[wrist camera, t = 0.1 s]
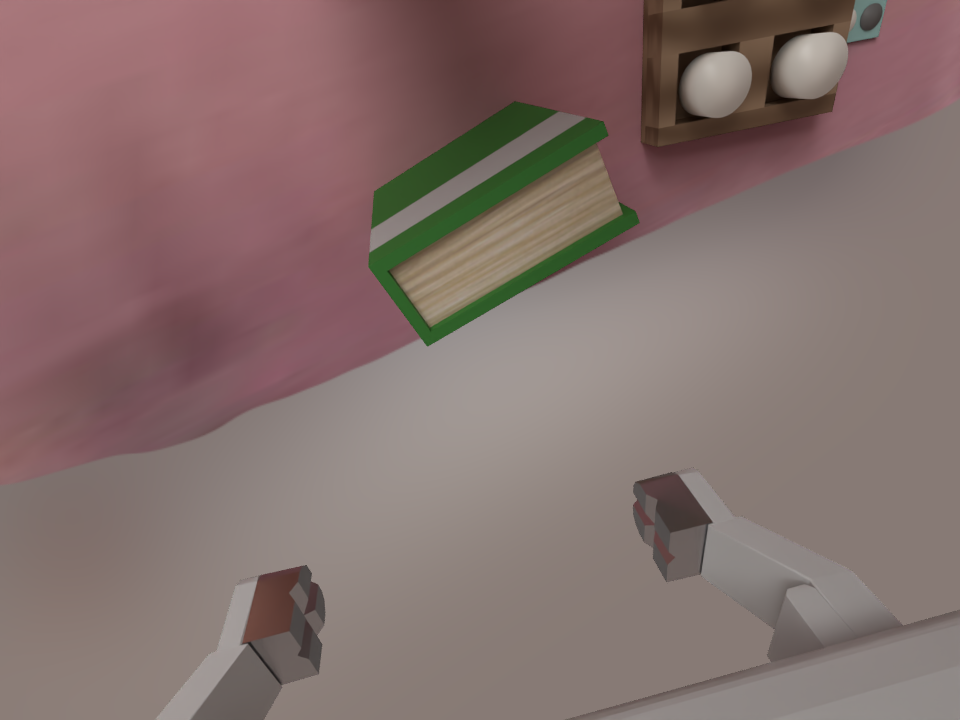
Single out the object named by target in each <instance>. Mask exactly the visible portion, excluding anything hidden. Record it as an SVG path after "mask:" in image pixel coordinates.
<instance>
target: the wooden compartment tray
mask: <svg viewBox="0 0 960 720" xmlns="http://www.w3.org/2000/svg"><path fill="white" fill-rule="evenodd" d="M854 5H855V0H644V18H643V67H642V116H641V142H642V143H645V144H649V145H653V146H656V147H660V146H665V145H670V144H675V143H680V142H685V141H690V140H695V139H700V138H704V137H709V136H714V135H719V134H724V133H729V132H734V131H739V130H744V129H749V128H754V127H759V126H764V125H768V124H773V123H778V122H783V121H788V120H793V119H798V118H803V117H808V116H813V115H818V114H823V113H828V112H832V110H833V105H834V100H835V96H836V91H837V86H838V83H837V84H836V85H835V86H834V87H833V88H832V89H831V90H830V91H829V92H828V93H826V94H825V95H823V96H821V97H819V98H816V99H798V98H784V97H780V96H778V95H777V94H776V93H775V92H774V91H773V89H772V87H771V83H770V71H771V66H772V63H773V61H774V58H775V56H776V55H777V53H778V51H779V50H780V49H781V47H782V46H783V45H784V44H785V43H786V42H788V41H789V40H790V39H792V38H794V37H796V36H798V35H804V34H815V33H827V32H835V33H838V34H840V35H841V36H842V37H843V38H844V39H845V41H846V43H847V38H848V33H849V29H850V24H851V19H852V14H853V10H854ZM726 51H735V52H739V53H741V54H743V55H744V56H745V57H746V58H747V60H748V61H749V63H750V66H751V71H752V80H751V86H750V89H749V92H748V94H747V96H746V98H745V100H744V101H743V103H742V104H741V105H740V106H739V107H738V108H737V109H736V110H735V111H734V112H732V113H731V114H729V115H727V116H725V117H722V118H711V117H704V116H697V115H692V114H690V113H688V112H687V111H685V110H684V108H683V107H682V105H681V103H680V100H679V83H680V80H681V77H682V74H683V72H684V71H685V69H686V68H687V66H688V65H689V64H690V63H691V62H692V61H693V60H694V59H695V58H696V57H698V56H700V55H702V54H704V53H710V52H726Z"/></svg>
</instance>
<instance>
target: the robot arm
mask: <svg viewBox="0 0 960 720" xmlns="http://www.w3.org/2000/svg"><path fill="white" fill-rule="evenodd" d="M633 492H634V495H635V496H636V498H637V501H636V502H635V503H634V505H633V515H634V519H635V523H636V526H637V529H638V531H639V534H640V535H641V537H642V539H643V541H644V542H645V543H646V544H648V545H649V546H651V547H653V559H654V561H655V563H656V564H657V566H658V568H659V570H660V571H661V573H662V575H663V577H664V578H665V580H666V582H669V581H674V580H678V579H683V578H686V577H691V576H695V575H700V574H701V577H703V578H704V579H706V580H707V581H708V582H710V583H711V584H712V585H714V586H715V587H717V588H718V589H719V590H721V591H722V592H723V593H725V594H726V595H728V596H729V597H731V598H732V599H733V600H734V601H736V602H737V603H739V604H740V605H741V606H743V607H744V608H746V609H747V610H748V611H750V612H751V613H752V614H754V615H755V616H757V617H758V618H759V619H761V620H762V621H763V622H765V623H766V624H768V625H769V626H771V627H772V628H773V629H775V631H774V634H773V637H772V640H771V644H770V647H769V650H768V654H767V656H768V658H769V659H770V661H771V663H767V664H764V665H760V666H756V667H753V668H750V669H746V670H742V671H738V672H735V673H731V674H728V675H724V676H721V677H717V678H713V679H710V680H706V681H703V682H699V683H696V684H692V685H688V686H685V687H681V688H678V689H674V690H671V691H667V692H663V693H660V694H656V695H652V696H649V697H645V698H642V699H638V700H634V701H631V702H628V703H624V704H620V705H616V706H613V707H609V708H606V709H602V710H598V711H595V712H591V713H588V714H584V715H580V716H577V717H573V718H570V719H566V720H960V610H957V611H953V612H950V613H946V614H943V615H939V616H936V617H932V618H928V619H925V620H921V621H918V622H914V623H911V624H907V625H902V624H901V623H900V621H899V620H898V619H897V618H896V617H895V616H894V615H893V614H892V613H891V612H890V611H889V610H888V609H887V608H886V607H885V605H884V604H883V603H882V602H881V601H880V600H879V599H878V598H877V597H876V596H875V595H874V594H873V593H872V592H871V591H870V589H869V588H868V587H866V585H865V584H864V583H863V582H862V581H861V580H860V579H859V578H858V577H857V576H856V575H855V574H854V572H852V571H851V570H850V569H848V568H846V567H844V566H842V565H840V564H838V563H836V562H834V561H832V560H830V559H828V558H826V557H824V556H821V555H820V554H817V553H815V552H813V551H811V550H809V549H807V548H805V547H803V546H801V545H799V544H797V543H795V542H793V541H791V540H789V539H787V538H785V537H783V536H781V535H779V534H777V533H775V532H773V531H771V530H769V529H767V528H765V527H763V526H761V525H759V524H757V523H755V522H753V521H751V520H749V519H747V518H745V517H742V516H740V517H735V516H734V514H733V513H732V512H731V511H730V509H729V508H728V507H727V506H726V504H725V503H724V502H723V501H722V500H721V498H720V497H719V496H718V495H717V493H716V492H715V491H714V490H713V488H712V487H711V486H710V484H709V483H708V482H707V481H706V480H705V478H704V477H703V476H702V474H701V473H700V472H699V471H698V470H697V469H695V468H694V467H693V468H689V469H685V470H681V471H677V472H674V473H672V472H671V473H667V474H663V475H660V476H656V477H652V478H649V479H645V480H641V481H637V482H635V484H634V489H633ZM311 576H312V573H311V571H310V570H309V568H308V567H307V565H305V566H300V567H295V568H291V569H286V570H282V571H278V572H273V573H268V574H264V575H260V576H255V577H251V578H247V579H243V580H240V581H239V583H238V584H237V585H236V587H235V589H234V593H233V596H232V599H231V603H230V606H229V610H228V613H227V617H226V620H225V623H224V627H223V630H222V634H221V637H220V641H219V644H218V647H217V651H216V652H212V653H210V654H209V655H208V656H207V657H206V659H205V660H204V661H203V662H202V663H201V664H200V666H199V667H198V668H197V669H196V671H195V672H194V673H193V674H192V675H191V677H190V678H189V679H188V680H187V681H186V683H185V684H184V685H183V686H182V688H181V689H180V690H179V691H178V693H177V694H176V695H175V696H174V697H173V698H172V700H171V701H170V702H169V703H168V705H167V706H166V707H165V708H164V710H163V711H162V712H161V713H160V714H159V715H158V717H157V718H156V719H155V720H264V718H265V717H266V715H267V713H268V711H269V710H270V708H271V706H272V704H273V703H274V701H275V699H276V697H277V696H278V694H279V692H280V690H281V688H282V686H281V685H283V684H287V683H290V682H294V681H297V680H300V679H304V678H307V677H311V676H314V675H317V674H319V668H320V659H321V650H322V643H321V642H320V640H319V638H318V637H317V635H318V633H319V632H320V631H321V629H322V628H323V626H324V621H325V603H324V597H323V594H322V591H321V589H320V587H319V585H318V584H316V583H313V582H311Z"/></svg>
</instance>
